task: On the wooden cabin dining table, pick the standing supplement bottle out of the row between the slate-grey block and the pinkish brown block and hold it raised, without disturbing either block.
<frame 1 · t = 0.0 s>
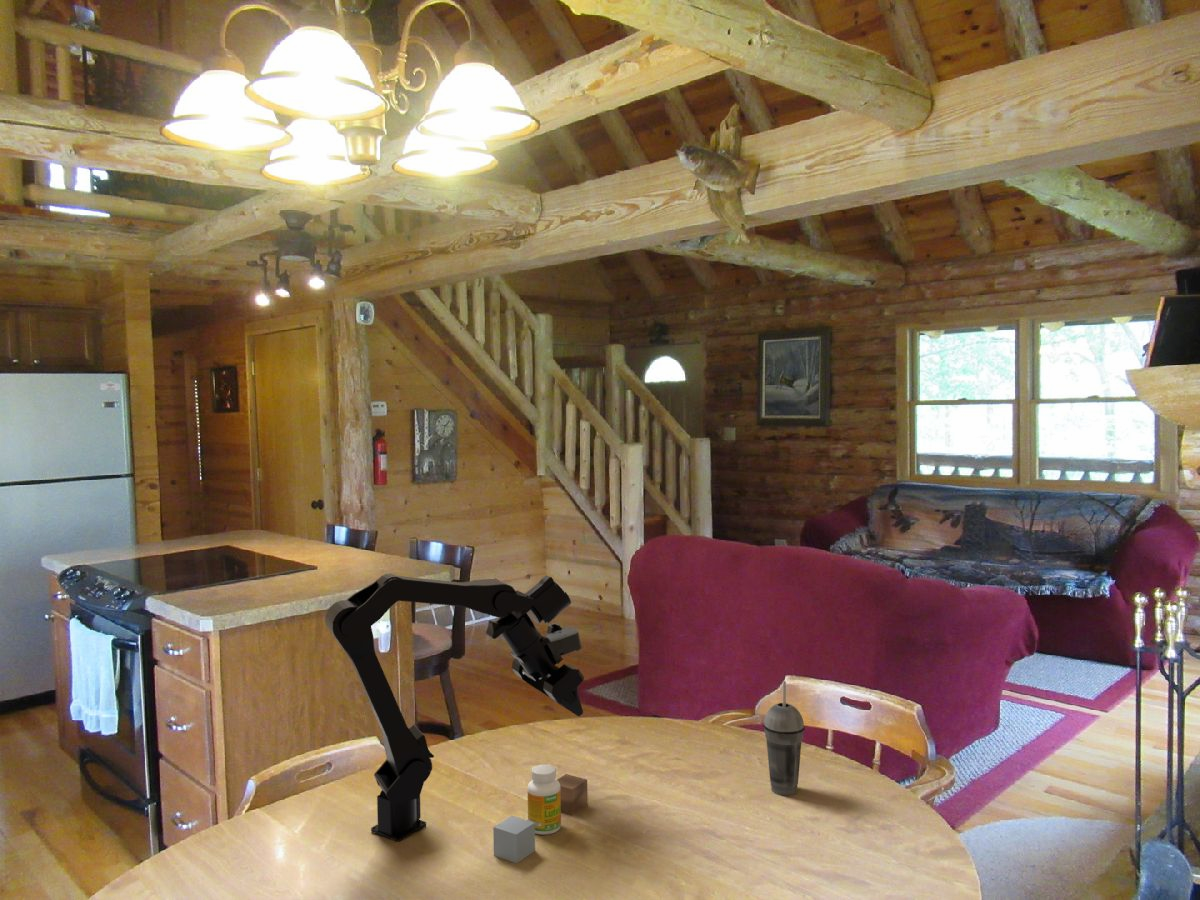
hand: (569, 707, 154), 15 cm above the table, tool tilted 35°, fingers open, 9 cm apart
beverage cup: (784, 791, 153), on the table
pinkish brown block: (569, 807, 148), on the table
supplement bottle: (544, 829, 140), on the table
slate block: (514, 853, 132), on the table
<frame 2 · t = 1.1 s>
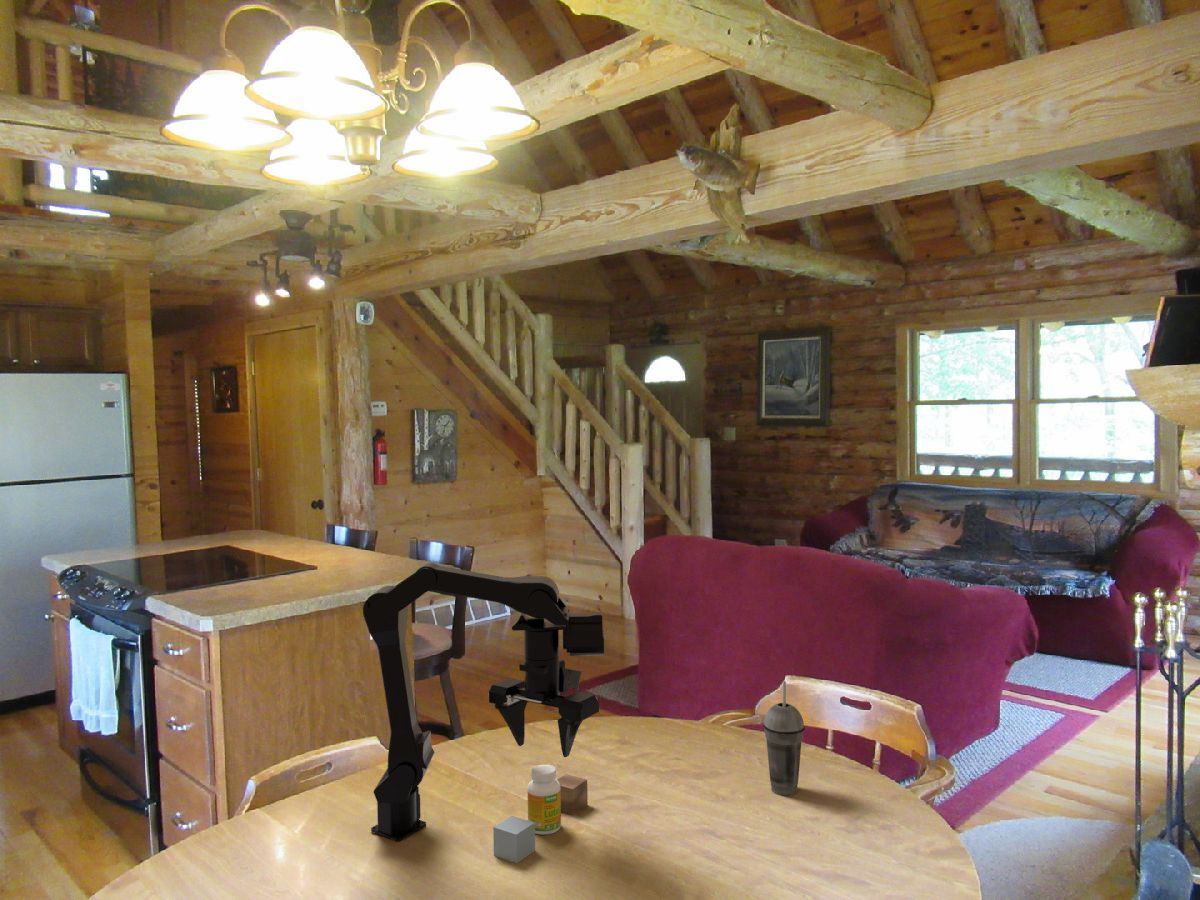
hand: (543, 750, 140), 13 cm above the table, tool pointing down, fingers open, 9 cm apart
nothing on the table moved.
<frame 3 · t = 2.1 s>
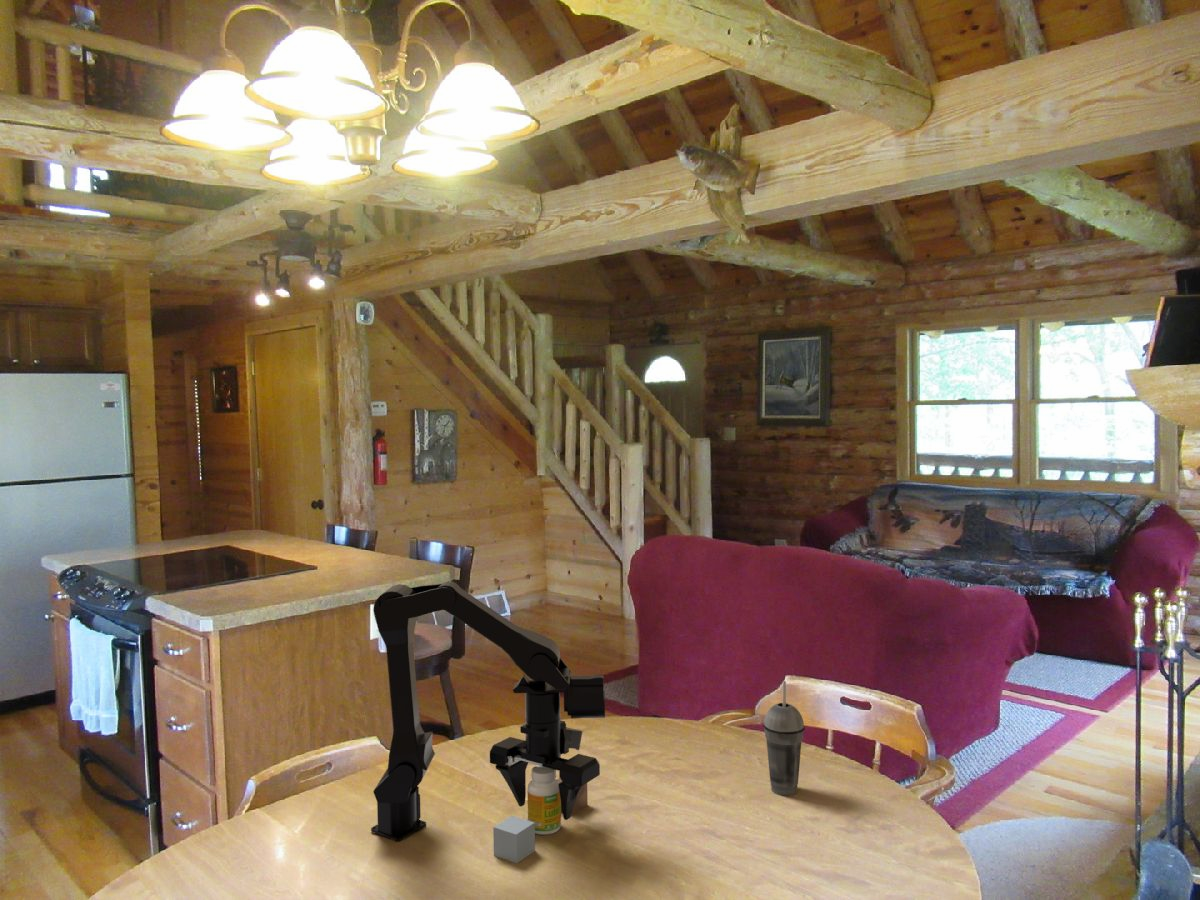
hand: (544, 812, 140), 3 cm above the table, tool pointing down, fingers open, 9 cm apart
nothing on the table moved.
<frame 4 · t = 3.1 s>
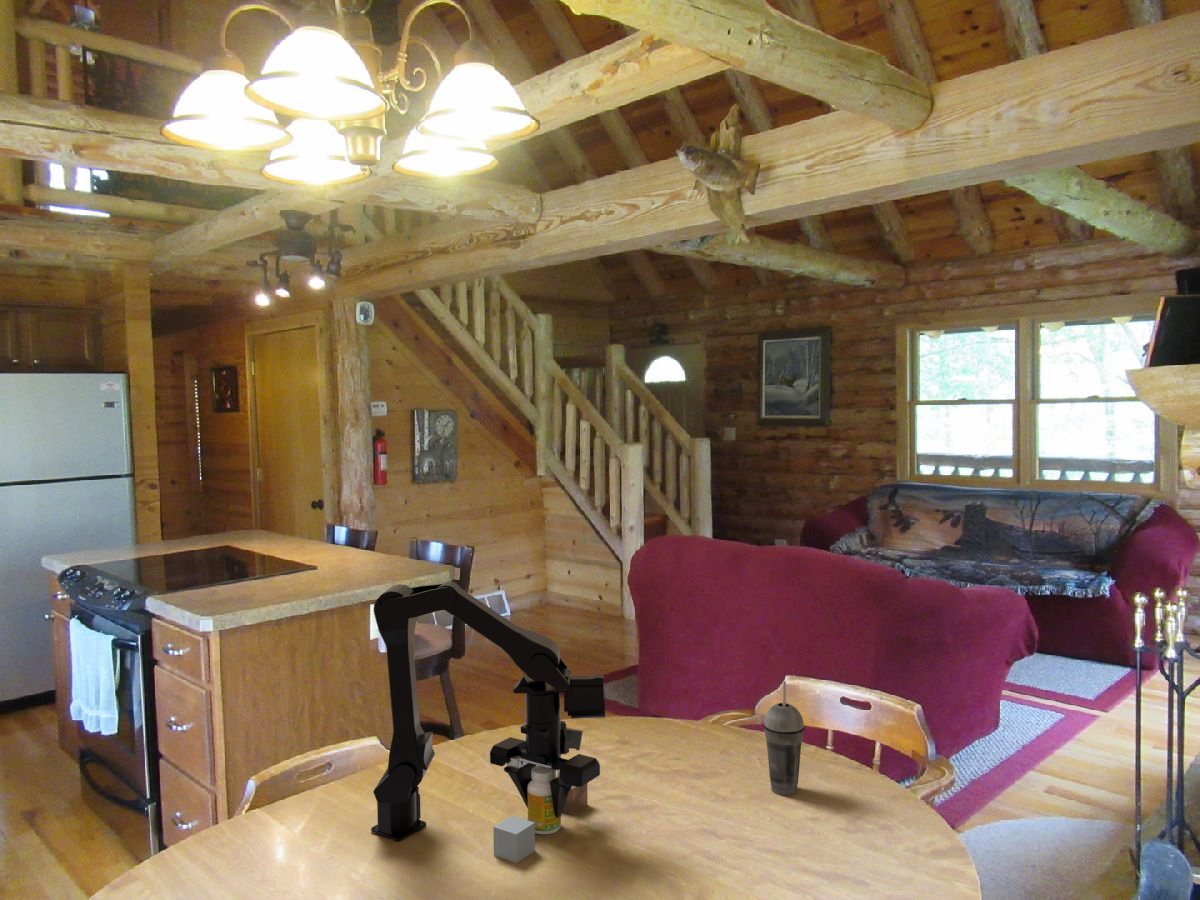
hand: (544, 812, 140), 3 cm above the table, tool pointing down, fingers closed on supplement bottle, 5 cm apart
supplement bottle: (544, 828, 140), on the table, touching gripper
everything else where it was.
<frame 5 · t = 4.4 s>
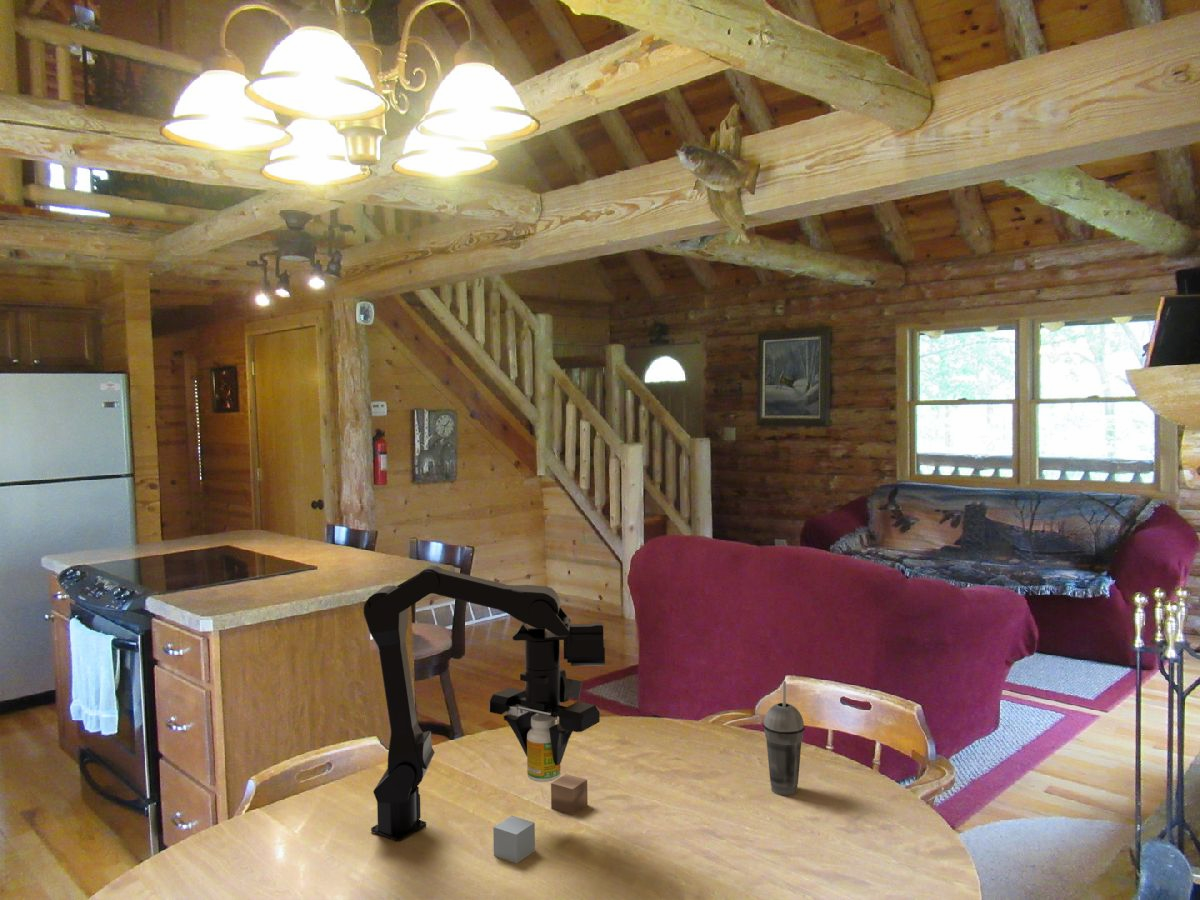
hand: (543, 760, 139), 11 cm above the table, tool pointing down, fingers closed on supplement bottle, 5 cm apart
supplement bottle: (543, 777, 140), point 8 cm above the table, touching gripper
everything else where it was.
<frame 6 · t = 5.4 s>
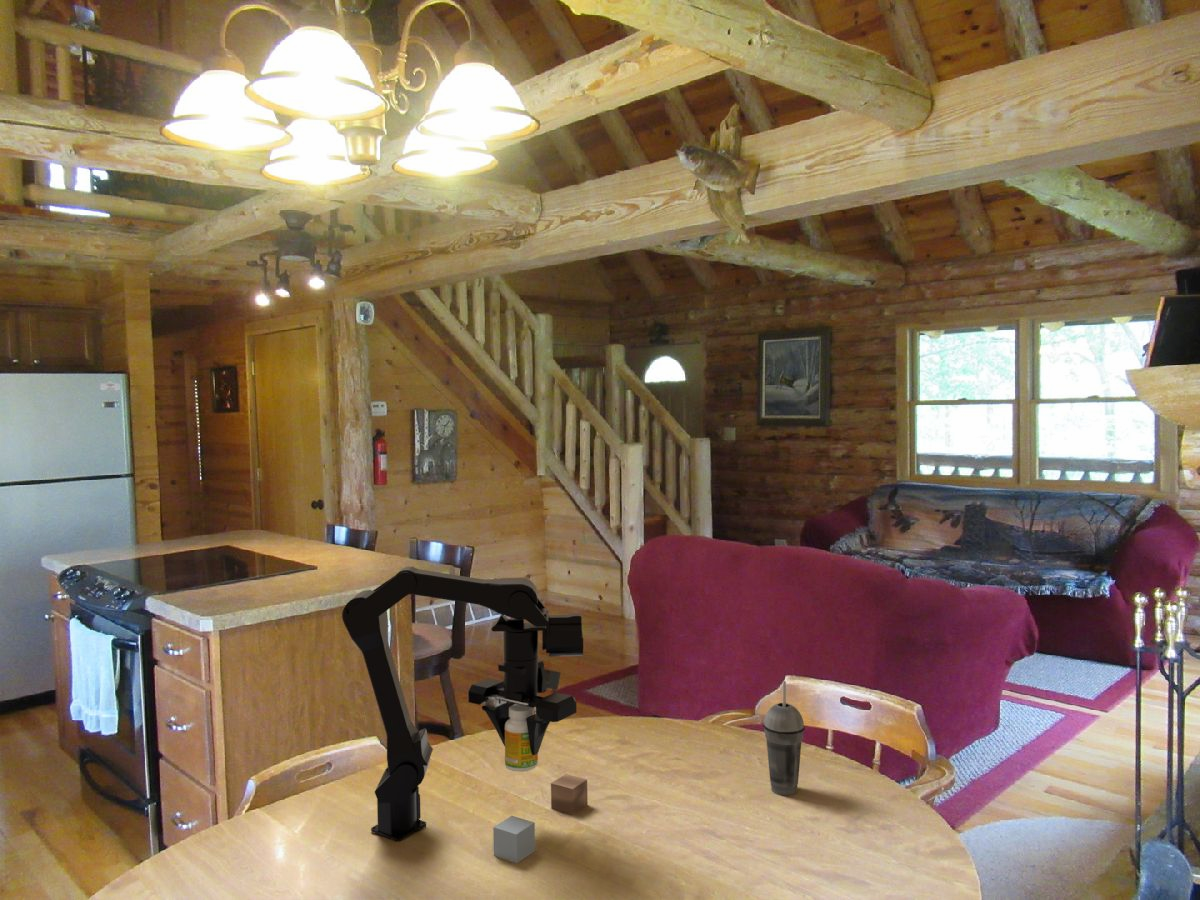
hand: (521, 750, 141), 12 cm above the table, tool pointing down, fingers closed on supplement bottle, 5 cm apart
supplement bottle: (521, 767, 141), point 10 cm above the table, touching gripper
everything else where it was.
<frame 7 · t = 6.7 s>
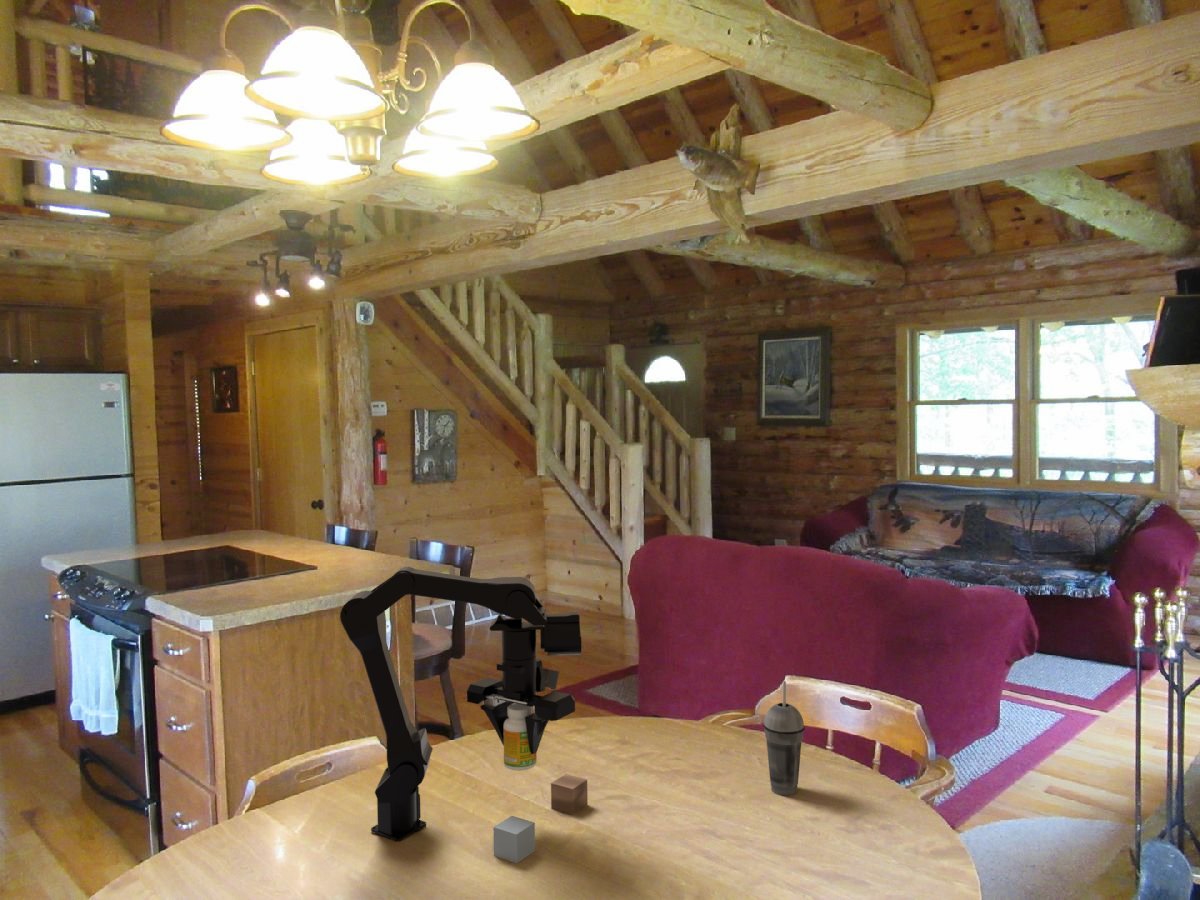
hand: (520, 749, 141), 12 cm above the table, tool pointing down, fingers closed on supplement bottle, 5 cm apart
supplement bottle: (520, 766, 141), point 10 cm above the table, touching gripper
everything else where it was.
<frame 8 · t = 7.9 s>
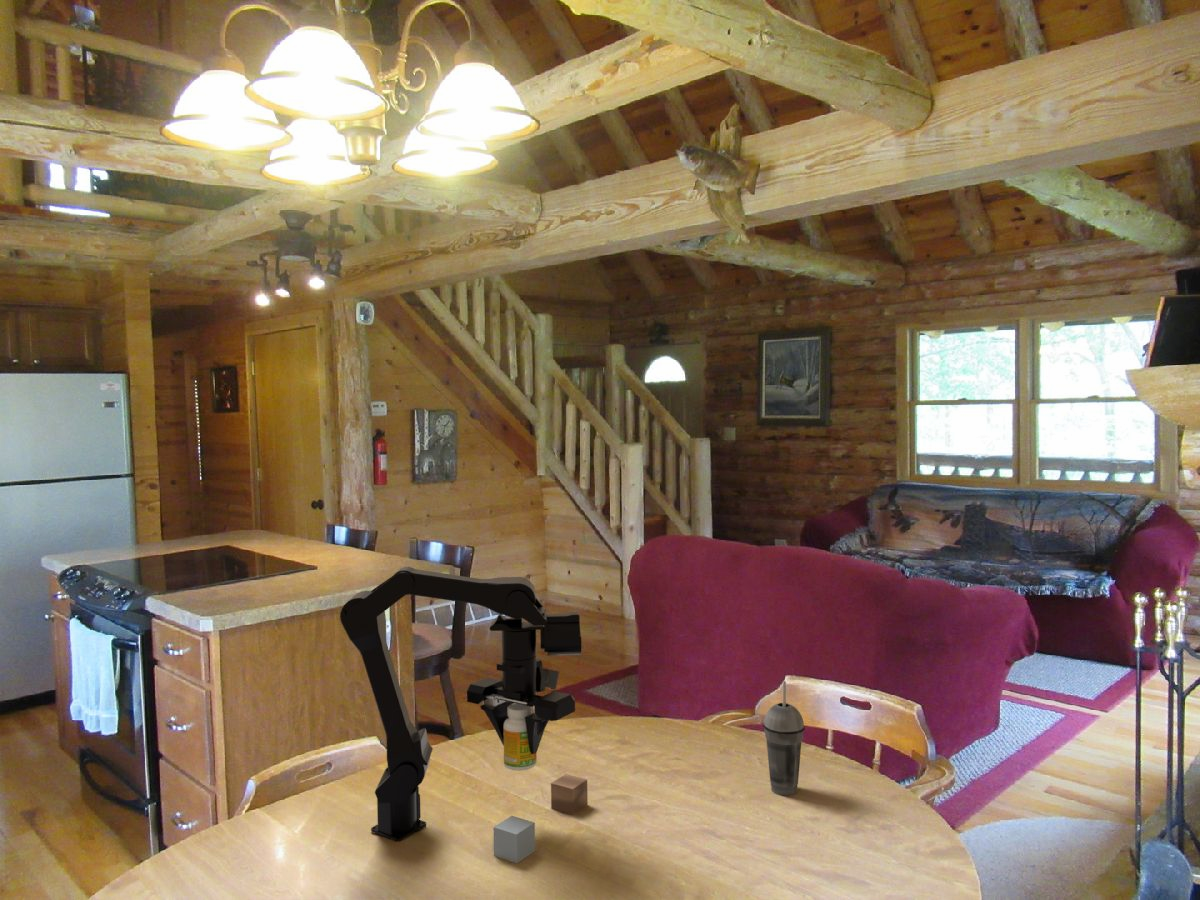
hand: (520, 749, 141), 12 cm above the table, tool pointing down, fingers closed on supplement bottle, 5 cm apart
supplement bottle: (520, 766, 141), point 10 cm above the table, touching gripper
everything else where it was.
at the end: supplement bottle point 9.7 cm above the table; slate block moved 0.1 cm from its start; pinkish brown block moved 0.1 cm from its start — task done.
